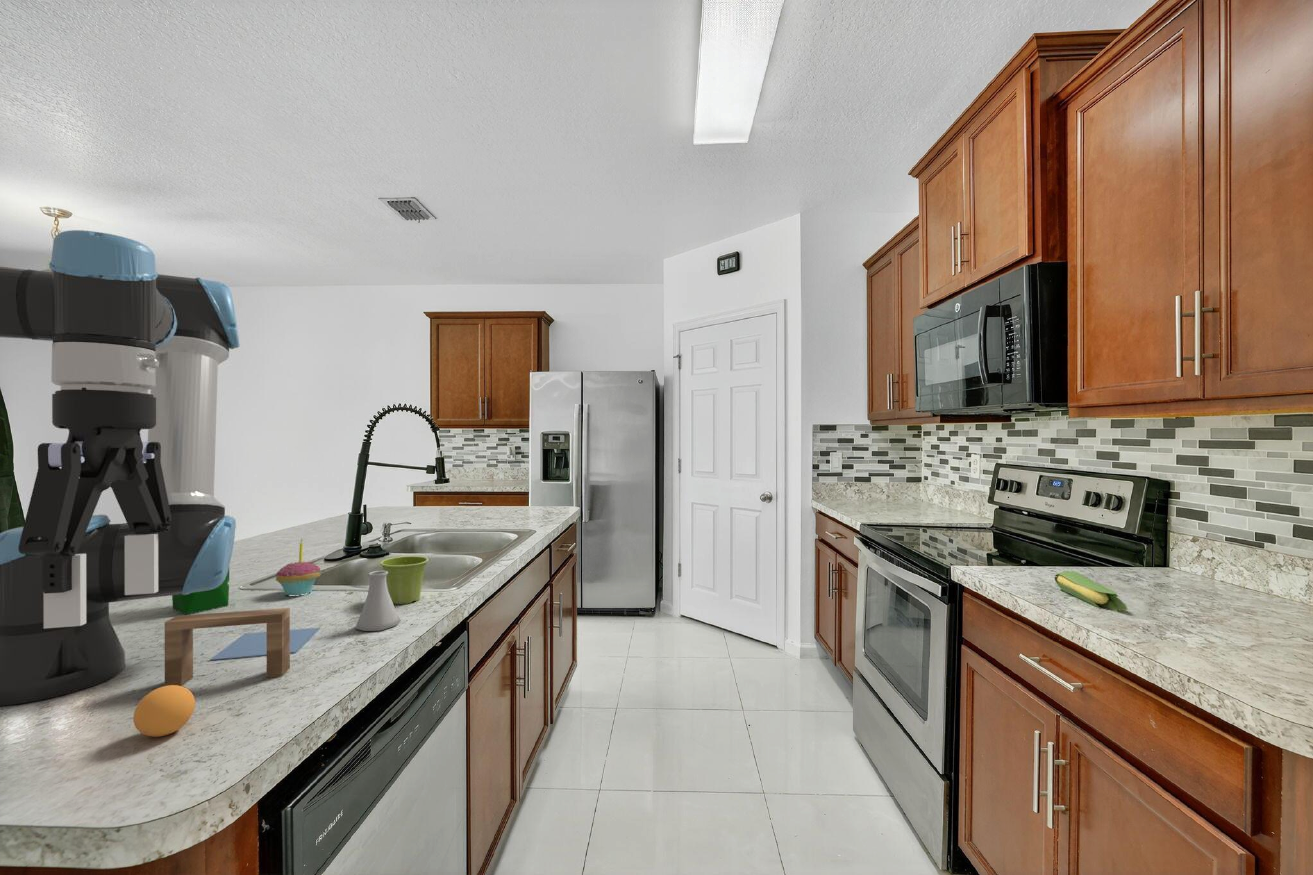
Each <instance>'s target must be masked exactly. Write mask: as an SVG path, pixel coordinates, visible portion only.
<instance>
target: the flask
mask: <svg viewBox="0 0 1313 875" xmlns="http://www.w3.org/2000/svg"><path fill="white" fill-rule="evenodd" d="M387 574H388V571H384V570H375V571H371V572H369V573H368V574H367V577H368V578H369V587H368V591H367V595H366V599H365V601H364V604H363V607H362V608H361V611H360V614H359V617H358V620H357V623H356V624H355V627H354V629H356V630H358V631H363V632H372V631H373V632H375V631H376V632H378V631H383V630H386V629H387V630H388V629H389V628H393V627H395V626H397V625H398V624H399V623H400V622H401V618H400V616H399V614H398V611H397V609H396V607H395V606H394V603H393V602H392V600H391V597H390V595H389V592H388V588H387V583H386V575H387Z"/></svg>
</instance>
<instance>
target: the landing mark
mask: <svg viewBox="0 0 1313 875" xmlns="http://www.w3.org/2000/svg"><path fill="white" fill-rule="evenodd" d="M319 630H321V627H311V628H310V627H309V628H299V629H290V654H296V653H298V652H299V651H300V650H301V649H302V648H303V646H304V645H306V643H308V642H309V640H310V639H311V638H313V636H314V635H315V634H316V633H317V632H318V631H319ZM265 656H266V657H267V631H260V632H250V633H249V632H247V633H243V634H242V635H240V636H239V637H238V638H237V639H236V640H234V641H233V642H231V643H230V644H229V645H227V646H226V647H224V648H223V649H222V650H221V651H219V652H217V653H216V654H215V655H214V656H213V657H211V658H210V659H209V661H213V662H214V661H221V660H222V661H223V660H224V661H225V660H233V659H243V658H244V659H245V658H256V657H265Z"/></svg>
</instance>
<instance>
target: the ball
mask: <svg viewBox="0 0 1313 875" xmlns="http://www.w3.org/2000/svg"><path fill="white" fill-rule="evenodd" d="M195 706H196V700H195V697H194V695H193V693H192V692H191V691H190V690H189V689H188V688H186V687H184V686H183V685H182V686H178V685H169V686H165V685H164V686H160V687H157V688H155V689H154V690H151V691H150V692H148V693H147V694H146V695H145V696H144V697H143V698H142V699H141V700H139V702H138V704H137V705H136V707H135V710H134V712H133V718H132V720H133V724H134V727H135V729H136V730H137V731H138V732H139V733H141V734H143V735H144V736H147V737H151V738H153V737H154V738H157V737H164V736H168V735H170V734H173V733H174V732H177V731H178V730H180V729H181V728H182V727H184V726H185V724H187V722H189V720H190V719H191V717H192V716H193V714H194V712H195V708H196V707H195Z"/></svg>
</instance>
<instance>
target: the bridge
mask: <svg viewBox="0 0 1313 875" xmlns="http://www.w3.org/2000/svg"><path fill="white" fill-rule="evenodd" d="M290 609H291V608H290V607H281V608H269V609H254V610H252V609H251V610H242V611H241V610H240V611H227V612H212V613H200V614H199V613H197V614H196V613H195V614H187V615H186V614H183V615H176V616H174V617H172V618H171V619H168V620H167V621H165V622H164V686H169V685H178V686H182V687H183V686H184V685H185V684H186V683H188V682H189V681H190V680H191V679H193V678H194V630H195V629H196V630H198V629H206V628H207V629H209V628H210V629H211V628H219V627H220V628H221V627H233V626H234V627H235V626H247V625H260V624H266V632H267V656H266V678H267V679H268V678H276V677H283V676H284V675H285V674H286V673H287V672H288V670H290V669H291V653H290V630H291V624H290V622H291V620H290V619H291V616H290V615H291V614H290V611H291V610H290Z"/></svg>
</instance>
